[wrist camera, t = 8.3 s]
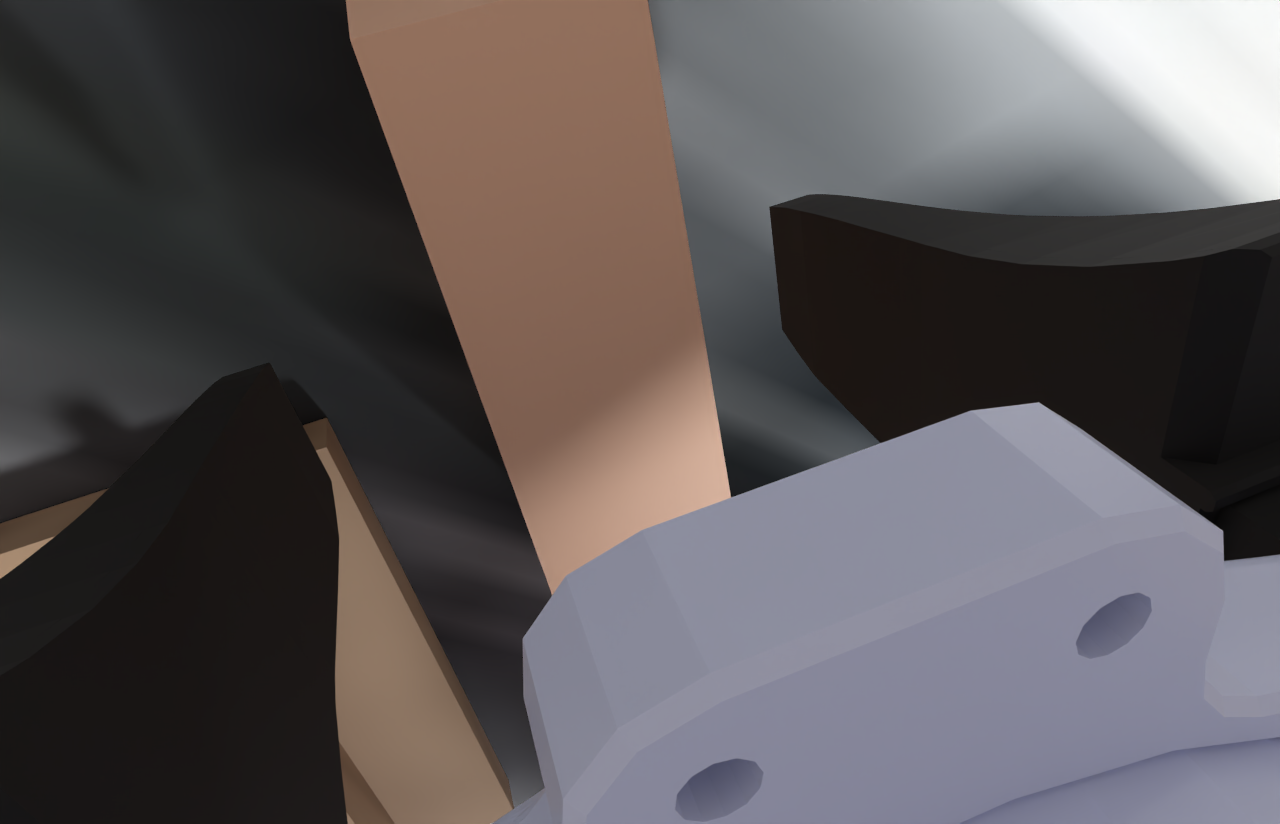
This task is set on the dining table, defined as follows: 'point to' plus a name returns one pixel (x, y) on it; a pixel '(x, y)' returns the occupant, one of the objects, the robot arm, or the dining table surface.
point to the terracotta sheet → (556, 251)
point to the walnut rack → (369, 672)
